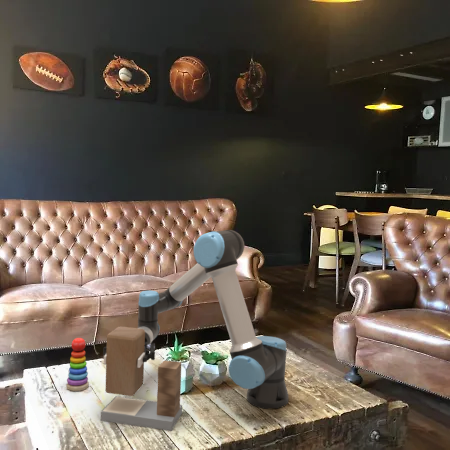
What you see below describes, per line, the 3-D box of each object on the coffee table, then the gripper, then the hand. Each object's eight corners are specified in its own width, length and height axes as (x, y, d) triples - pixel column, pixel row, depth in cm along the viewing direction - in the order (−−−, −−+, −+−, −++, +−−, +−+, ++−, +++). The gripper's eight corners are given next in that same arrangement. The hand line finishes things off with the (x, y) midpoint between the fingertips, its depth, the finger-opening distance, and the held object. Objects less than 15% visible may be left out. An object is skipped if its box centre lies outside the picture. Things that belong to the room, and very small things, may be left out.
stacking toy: (91, 389, 186) (92, 340, 184) (70, 393, 181) (70, 343, 180) (84, 381, 192) (85, 334, 191) (63, 385, 188) (64, 337, 186)
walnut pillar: (179, 408, 167) (181, 362, 165) (174, 417, 161) (176, 369, 159) (162, 406, 168) (164, 360, 166) (156, 414, 162) (158, 367, 160)
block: (133, 397, 161) (135, 337, 159) (104, 393, 163) (105, 334, 161) (144, 385, 171) (146, 328, 169) (116, 381, 173) (118, 325, 171)
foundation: (181, 413, 170) (182, 404, 170) (171, 430, 158) (171, 421, 158) (115, 404, 175) (115, 395, 174) (100, 420, 163) (100, 411, 163)
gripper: (171, 352, 183) (156, 376, 161) (109, 347, 185) (86, 370, 163) (171, 332, 182) (157, 353, 160) (110, 327, 184) (87, 347, 163)
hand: (121, 362), depth 162 cm, fingers closed on block, 11 cm apart
